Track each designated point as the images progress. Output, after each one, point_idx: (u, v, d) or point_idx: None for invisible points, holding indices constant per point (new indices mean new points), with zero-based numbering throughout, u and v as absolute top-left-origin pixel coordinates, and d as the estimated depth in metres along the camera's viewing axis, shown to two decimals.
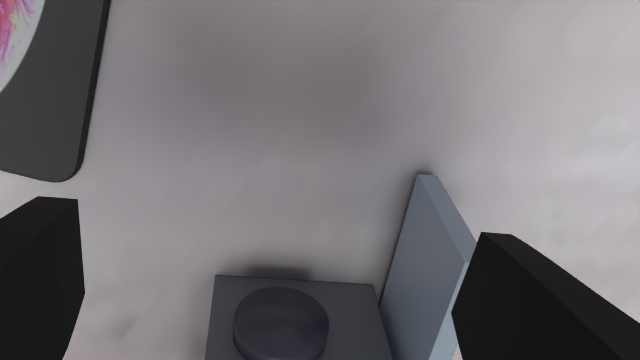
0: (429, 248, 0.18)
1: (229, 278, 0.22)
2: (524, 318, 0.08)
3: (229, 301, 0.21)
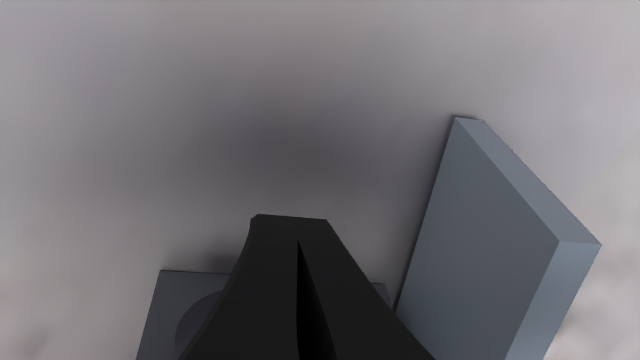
0: (481, 225, 0.12)
1: (179, 275, 0.15)
2: (301, 305, 0.07)
3: (175, 308, 0.14)
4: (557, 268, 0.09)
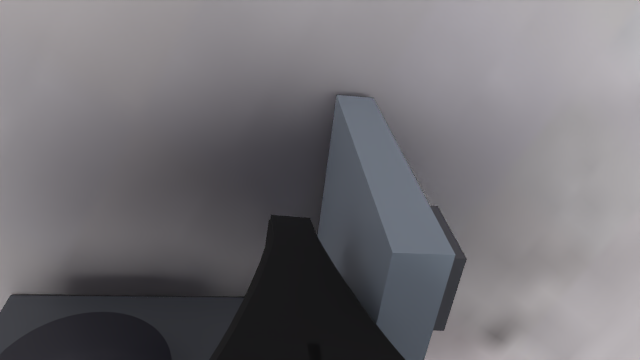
0: (347, 228, 0.09)
1: (33, 299, 0.13)
2: None
3: (13, 341, 0.12)
4: (398, 289, 0.07)
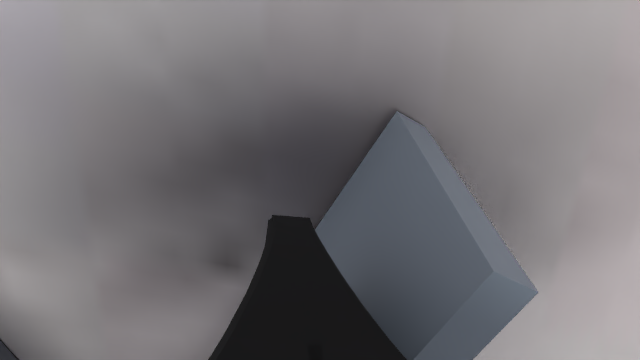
0: (390, 235, 0.09)
1: None
2: None
3: None
4: (476, 306, 0.07)
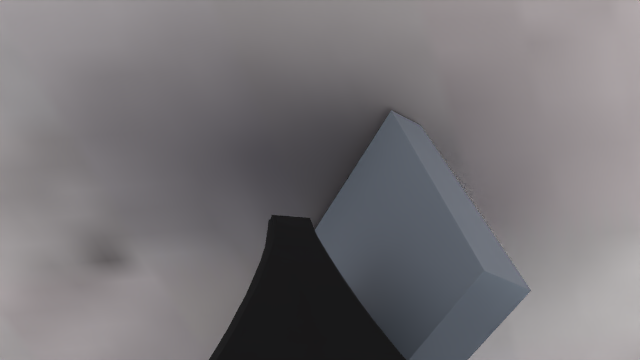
0: (386, 236, 0.09)
1: None
2: None
3: None
4: (469, 305, 0.07)
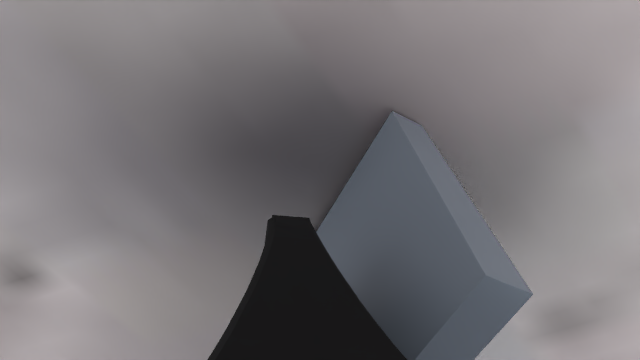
0: (388, 239, 0.09)
1: None
2: None
3: None
4: (470, 310, 0.07)
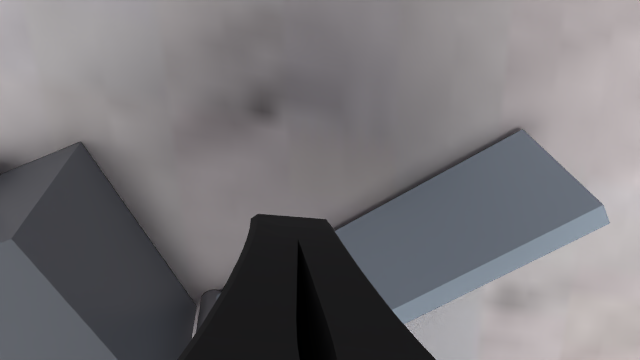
0: (523, 184, 0.18)
1: None
2: (301, 305, 0.07)
3: None
4: (586, 218, 0.15)
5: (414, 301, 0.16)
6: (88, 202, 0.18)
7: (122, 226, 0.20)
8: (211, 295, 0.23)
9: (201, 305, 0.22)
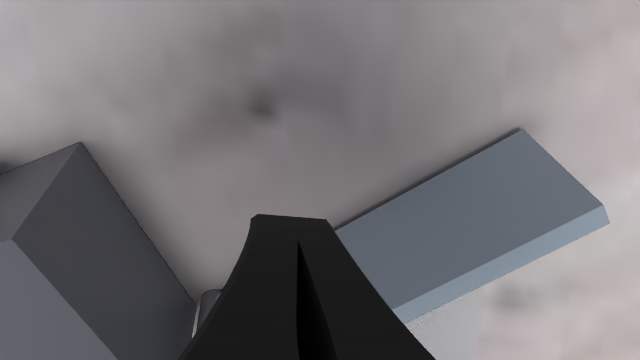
0: (523, 184, 0.18)
1: None
2: (301, 305, 0.07)
3: None
4: (586, 218, 0.15)
5: (414, 301, 0.16)
6: (88, 202, 0.18)
7: (122, 226, 0.20)
8: (211, 295, 0.23)
9: (201, 305, 0.22)
